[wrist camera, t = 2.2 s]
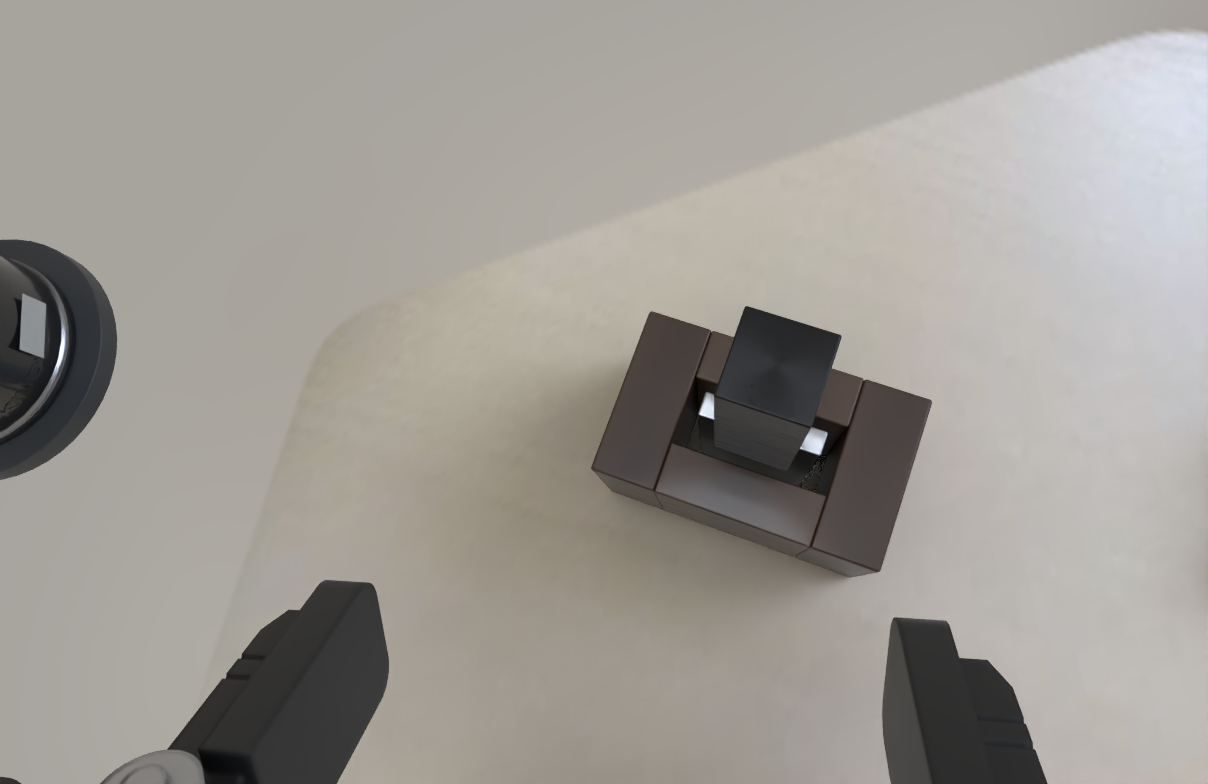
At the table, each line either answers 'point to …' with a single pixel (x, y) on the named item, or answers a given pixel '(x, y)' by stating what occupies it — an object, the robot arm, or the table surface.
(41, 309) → the robot arm
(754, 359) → the dark grey tall bar
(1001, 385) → the table surface
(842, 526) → the brown rectangular frame
